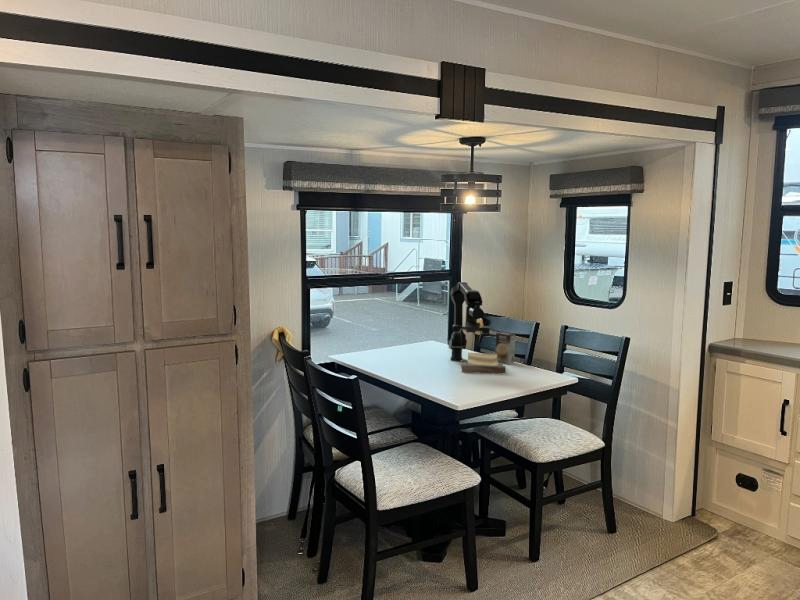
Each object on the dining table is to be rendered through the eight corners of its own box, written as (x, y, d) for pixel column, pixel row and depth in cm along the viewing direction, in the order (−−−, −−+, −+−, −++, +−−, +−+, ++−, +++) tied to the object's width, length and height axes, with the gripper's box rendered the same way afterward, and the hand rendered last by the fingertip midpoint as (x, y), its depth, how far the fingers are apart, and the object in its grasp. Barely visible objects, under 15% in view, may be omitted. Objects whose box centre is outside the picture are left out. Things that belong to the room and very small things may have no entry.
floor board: (460, 364, 318) (461, 358, 317) (502, 366, 316) (502, 360, 316) (461, 371, 303) (461, 365, 302) (505, 373, 301) (505, 367, 301)
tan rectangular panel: (467, 354, 315) (468, 352, 314) (496, 356, 314) (496, 353, 313) (468, 366, 306) (468, 364, 306) (497, 368, 305) (497, 365, 305)
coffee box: (493, 361, 326) (495, 333, 324) (499, 359, 331) (501, 331, 329) (508, 364, 321) (510, 335, 318) (514, 362, 325) (516, 333, 323)
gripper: (452, 317, 296) (451, 348, 298) (490, 319, 294) (489, 350, 296) (453, 313, 307) (451, 343, 309) (489, 315, 305) (488, 345, 307)
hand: (470, 345), depth 305 cm, fingers open, 9 cm apart
